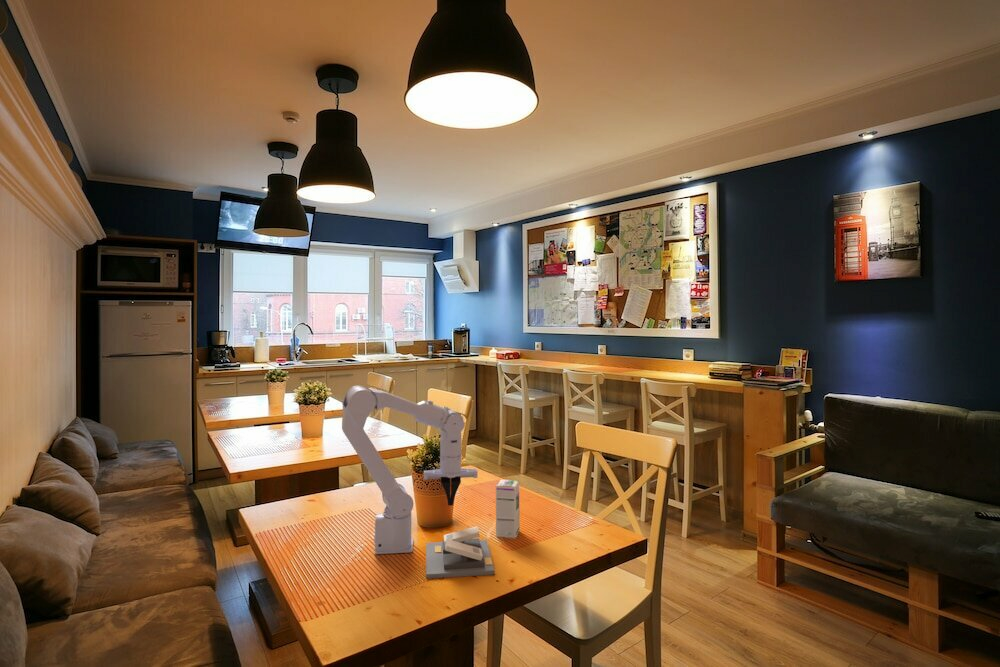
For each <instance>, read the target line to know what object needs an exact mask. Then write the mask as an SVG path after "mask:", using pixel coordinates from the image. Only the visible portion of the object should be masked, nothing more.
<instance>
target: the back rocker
mask: <svg viewBox="0 0 1000 667" xmlns="http://www.w3.org/2000/svg"><path fill="white" fill-rule="evenodd" d="M479 537H481V536H480V531H479V528H478V525H476V526H473V527H468V528H465V529H461V530H457V531H454V532H450V533H446V534H444V535H443V540H444V543H445V542H446V539H449V540H453V541H456V542H462V541H466V540H469V539H477V538H479Z"/></svg>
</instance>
